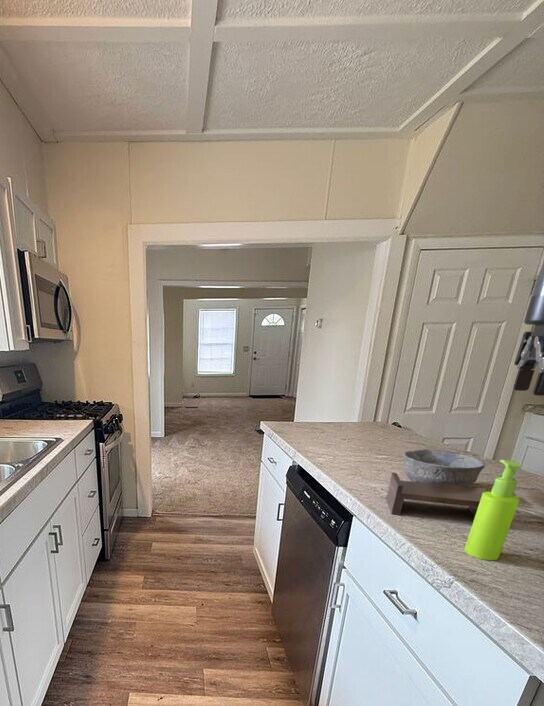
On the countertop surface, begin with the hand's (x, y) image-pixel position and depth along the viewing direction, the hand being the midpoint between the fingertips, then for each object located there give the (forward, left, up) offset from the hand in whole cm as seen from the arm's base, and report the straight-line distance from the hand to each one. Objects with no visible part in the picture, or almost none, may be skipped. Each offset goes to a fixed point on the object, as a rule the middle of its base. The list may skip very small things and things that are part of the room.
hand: (529, 392), depth 73 cm
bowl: (-1, -44, -33) cm, 55 cm away
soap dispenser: (-1, 0, -33) cm, 33 cm away
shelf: (+3, -23, -33) cm, 41 cm away
